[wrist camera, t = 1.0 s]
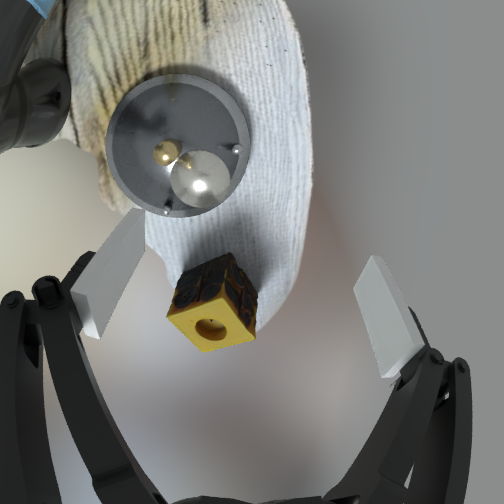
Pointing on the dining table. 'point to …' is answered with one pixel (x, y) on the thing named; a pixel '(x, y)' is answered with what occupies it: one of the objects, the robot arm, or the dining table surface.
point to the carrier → (177, 145)
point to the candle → (215, 305)
